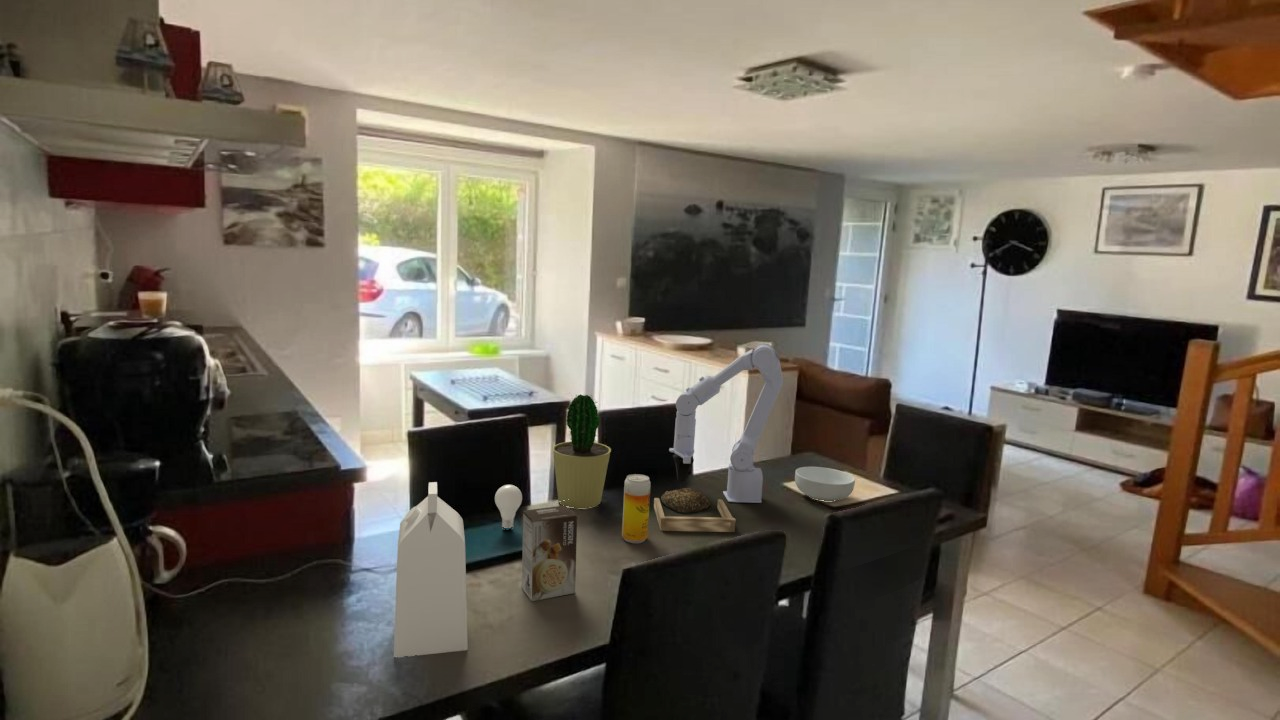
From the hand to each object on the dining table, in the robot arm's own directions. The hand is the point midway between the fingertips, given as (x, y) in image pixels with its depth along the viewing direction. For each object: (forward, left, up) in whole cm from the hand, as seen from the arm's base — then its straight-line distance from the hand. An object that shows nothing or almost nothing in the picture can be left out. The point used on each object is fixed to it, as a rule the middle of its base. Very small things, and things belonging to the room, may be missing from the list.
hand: (681, 480), depth 197 cm
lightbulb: (+46, +31, -3) cm, 55 cm away
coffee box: (+35, +61, -3) cm, 70 cm away
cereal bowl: (-41, +3, -4) cm, 41 cm away
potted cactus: (+29, +11, -3) cm, 31 cm away
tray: (0, +21, -3) cm, 21 cm away
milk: (+54, +77, -4) cm, 94 cm away
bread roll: (0, +10, -4) cm, 11 cm away
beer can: (+16, +35, -3) cm, 38 cm away
